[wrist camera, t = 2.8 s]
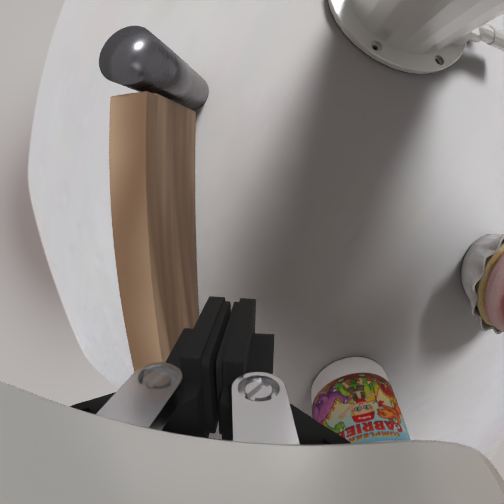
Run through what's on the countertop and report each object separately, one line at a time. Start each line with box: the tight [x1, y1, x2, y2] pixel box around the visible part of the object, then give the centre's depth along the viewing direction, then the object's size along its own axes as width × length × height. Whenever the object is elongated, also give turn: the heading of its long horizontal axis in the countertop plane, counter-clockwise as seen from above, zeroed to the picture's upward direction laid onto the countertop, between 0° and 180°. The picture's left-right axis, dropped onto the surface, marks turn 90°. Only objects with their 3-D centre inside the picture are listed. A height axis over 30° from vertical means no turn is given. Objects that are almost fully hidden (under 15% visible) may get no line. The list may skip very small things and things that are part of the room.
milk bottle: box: [311, 357, 410, 443], centre depth 19 cm, size 8×8×20 cm
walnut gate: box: [109, 91, 199, 371], centre depth 20 cm, size 2×19×9 cm, turn 179°
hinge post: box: [99, 26, 209, 110], centre depth 17 cm, size 3×3×11 cm
